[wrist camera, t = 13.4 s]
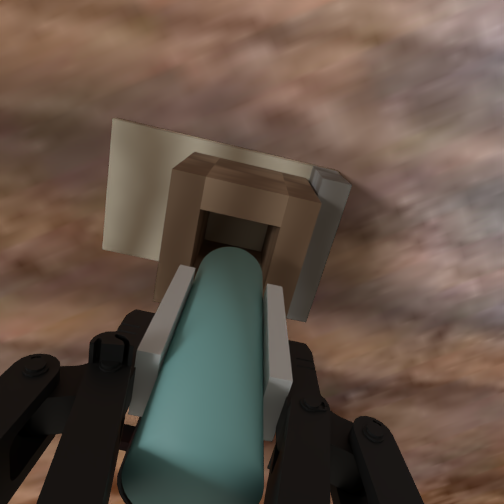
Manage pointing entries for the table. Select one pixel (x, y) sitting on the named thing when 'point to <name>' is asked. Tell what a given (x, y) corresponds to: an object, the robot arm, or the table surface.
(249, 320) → the dowel
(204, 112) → the table surface
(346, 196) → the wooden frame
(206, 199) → the block
